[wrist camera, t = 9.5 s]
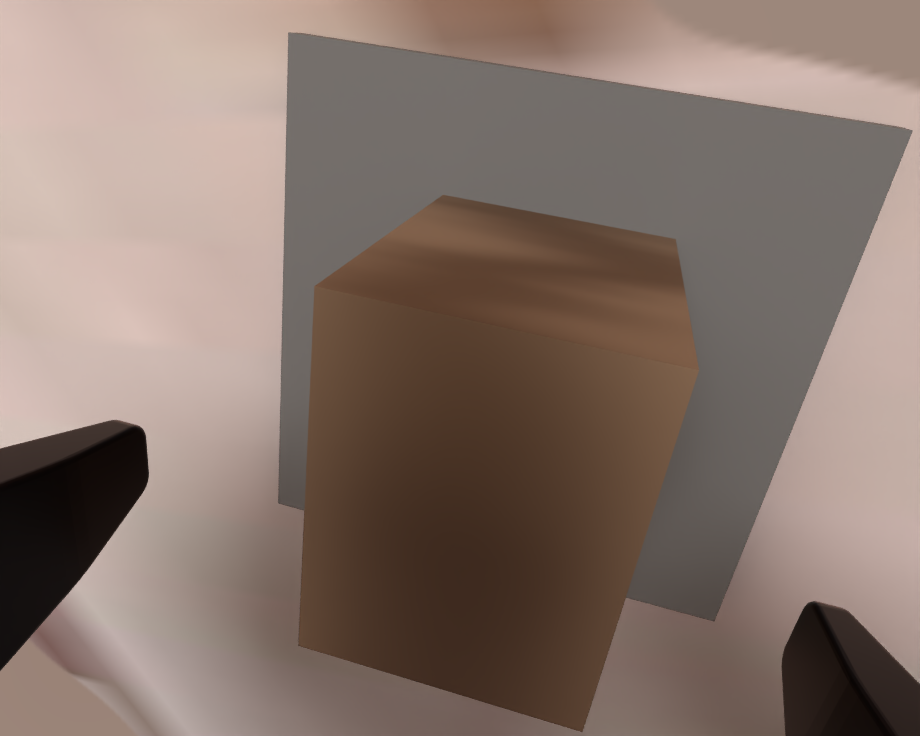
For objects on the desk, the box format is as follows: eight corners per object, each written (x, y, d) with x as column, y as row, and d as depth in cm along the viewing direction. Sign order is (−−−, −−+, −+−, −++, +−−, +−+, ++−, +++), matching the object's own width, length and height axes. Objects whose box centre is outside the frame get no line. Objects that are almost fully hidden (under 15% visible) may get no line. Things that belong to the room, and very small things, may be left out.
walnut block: (675, 239, 13) (698, 369, 8) (602, 498, 15) (582, 732, 10) (443, 194, 14) (314, 286, 8) (411, 451, 16) (298, 645, 11)
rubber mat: (900, 127, 12) (912, 130, 11) (711, 603, 17) (714, 621, 16) (302, 33, 14) (288, 32, 13) (288, 490, 18) (278, 503, 18)
